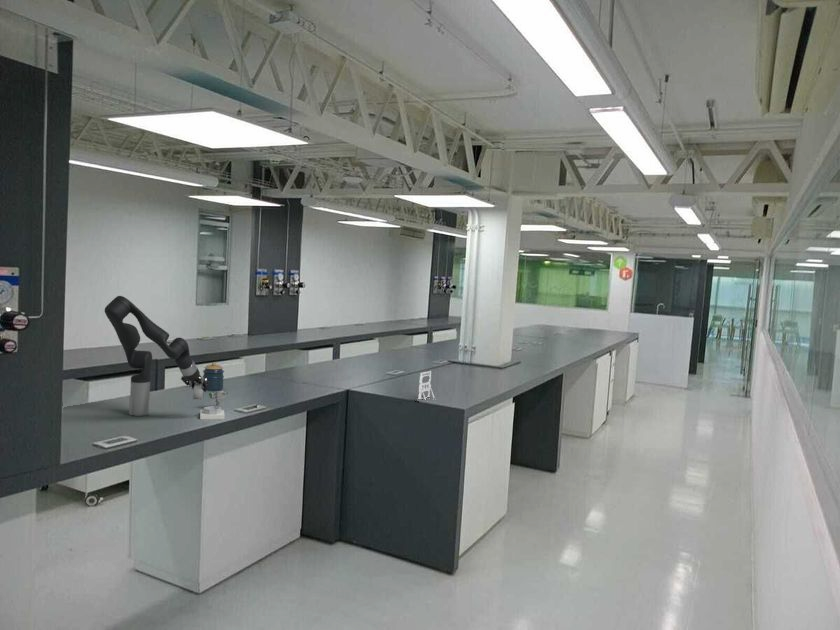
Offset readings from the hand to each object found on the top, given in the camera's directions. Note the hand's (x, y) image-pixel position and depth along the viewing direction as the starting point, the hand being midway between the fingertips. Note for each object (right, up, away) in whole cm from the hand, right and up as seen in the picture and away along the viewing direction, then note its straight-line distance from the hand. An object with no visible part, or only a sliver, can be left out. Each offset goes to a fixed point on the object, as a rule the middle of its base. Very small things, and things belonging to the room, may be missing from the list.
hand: (200, 389), depth 311 cm
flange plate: (+2, -15, +10) cm, 19 cm away
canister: (-21, -10, +80) cm, 84 cm away
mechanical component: (0, -15, +26) cm, 30 cm away
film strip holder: (+115, -19, +86) cm, 144 cm away
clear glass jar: (-1, -4, -2) cm, 5 cm away
